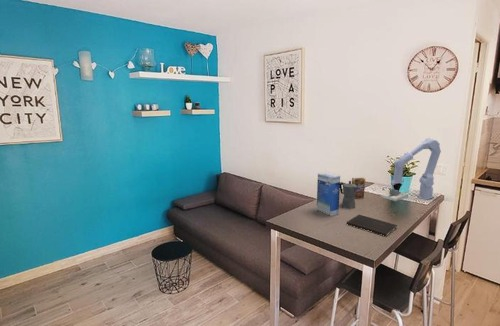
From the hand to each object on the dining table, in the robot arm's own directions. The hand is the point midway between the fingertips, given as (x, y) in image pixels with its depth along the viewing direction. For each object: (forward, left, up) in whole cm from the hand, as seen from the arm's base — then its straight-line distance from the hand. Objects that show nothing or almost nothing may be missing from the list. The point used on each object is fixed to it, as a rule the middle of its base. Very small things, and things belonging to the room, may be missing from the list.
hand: (396, 192), depth 219 cm
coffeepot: (+46, -10, -3) cm, 47 cm away
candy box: (+26, -16, -3) cm, 30 cm away
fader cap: (+3, 0, -1) cm, 3 cm away
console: (+2, 0, -3) cm, 4 cm away
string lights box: (+67, -10, -3) cm, 67 cm away
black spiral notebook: (+63, +20, -4) cm, 66 cm away
